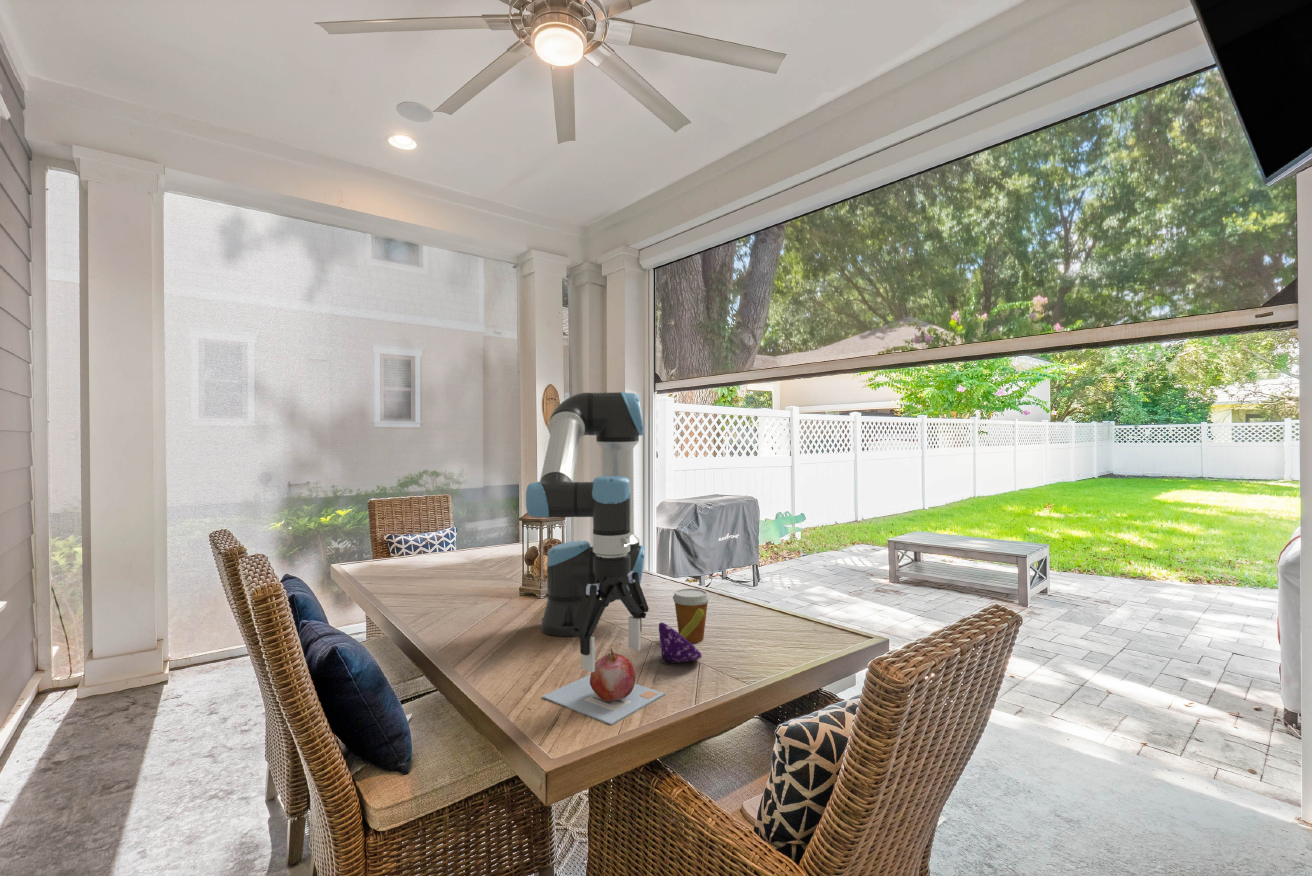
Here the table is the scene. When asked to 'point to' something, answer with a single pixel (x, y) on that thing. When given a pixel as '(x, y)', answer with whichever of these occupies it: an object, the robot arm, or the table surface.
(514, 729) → the table surface
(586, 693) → the letter
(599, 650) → the table surface
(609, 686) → the fruit
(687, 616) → the disposable coffee cup
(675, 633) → the decorative mushroom
